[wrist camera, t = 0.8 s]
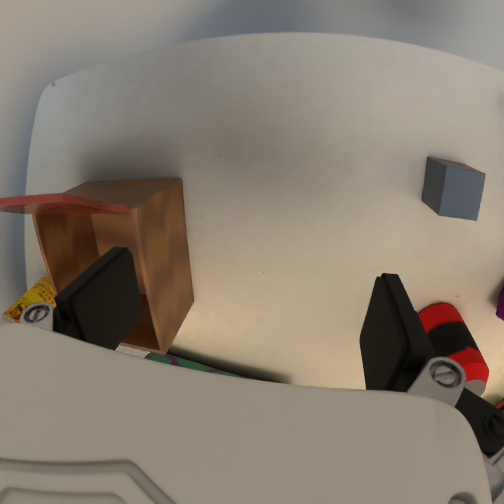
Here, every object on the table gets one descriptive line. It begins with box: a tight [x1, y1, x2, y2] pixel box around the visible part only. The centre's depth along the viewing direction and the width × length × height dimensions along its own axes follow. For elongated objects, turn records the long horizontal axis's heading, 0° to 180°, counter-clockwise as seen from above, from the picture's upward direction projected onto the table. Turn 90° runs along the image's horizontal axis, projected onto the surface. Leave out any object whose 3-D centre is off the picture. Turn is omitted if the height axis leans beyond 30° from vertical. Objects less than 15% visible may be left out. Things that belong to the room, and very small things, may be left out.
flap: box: [0, 193, 131, 214], centre depth 18 cm, size 7×13×1 cm
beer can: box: [0, 275, 56, 324], centre depth 34 cm, size 6×6×15 cm
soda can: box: [418, 304, 489, 397], centre depth 27 cm, size 8×8×12 cm
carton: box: [32, 179, 194, 355], centre depth 30 cm, size 15×13×10 cm
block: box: [422, 157, 485, 221], centre depth 23 cm, size 4×4×4 cm
